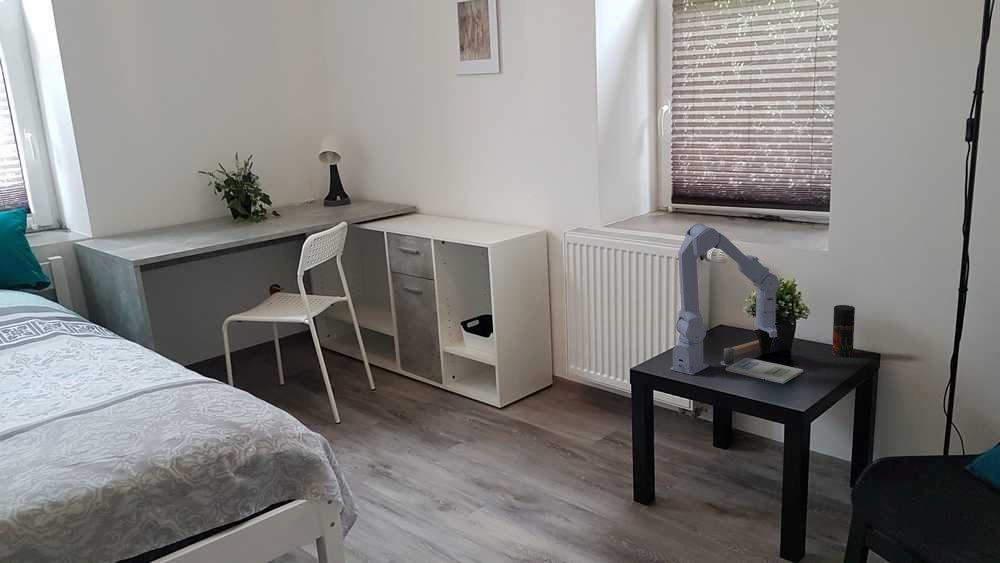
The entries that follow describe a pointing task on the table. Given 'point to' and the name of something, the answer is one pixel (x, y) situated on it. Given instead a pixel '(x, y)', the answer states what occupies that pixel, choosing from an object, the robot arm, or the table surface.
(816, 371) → the table surface
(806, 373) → the table surface
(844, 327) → the deodorant
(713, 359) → the table surface
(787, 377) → the label panel
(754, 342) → the swing bar
